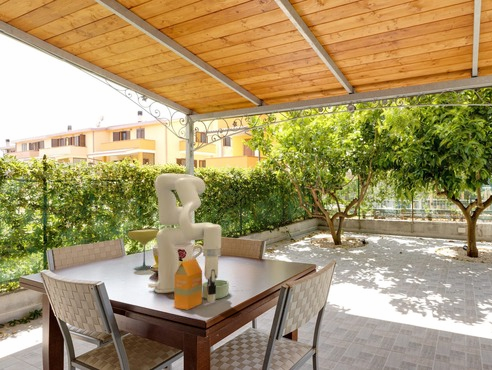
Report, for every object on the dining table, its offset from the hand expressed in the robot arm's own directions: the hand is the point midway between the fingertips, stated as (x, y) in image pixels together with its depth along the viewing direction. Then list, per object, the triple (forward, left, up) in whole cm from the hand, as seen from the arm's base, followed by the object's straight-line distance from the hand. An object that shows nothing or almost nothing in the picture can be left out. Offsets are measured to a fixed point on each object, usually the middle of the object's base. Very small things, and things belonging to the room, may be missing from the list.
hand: (211, 292), depth 143 cm
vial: (0, 0, -4) cm, 4 cm away
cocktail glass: (-33, +87, -6) cm, 94 cm away
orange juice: (-9, +3, -6) cm, 11 cm away
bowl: (+3, +11, -5) cm, 13 cm away
